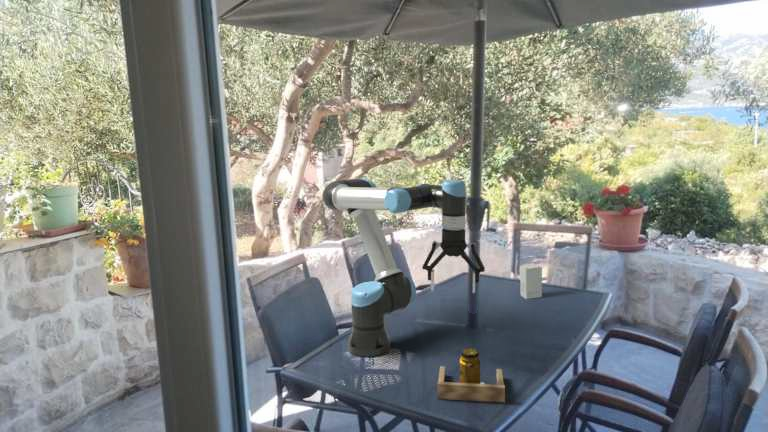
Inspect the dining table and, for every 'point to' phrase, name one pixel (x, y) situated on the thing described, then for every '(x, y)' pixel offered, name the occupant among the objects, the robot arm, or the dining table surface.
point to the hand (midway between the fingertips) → (453, 290)
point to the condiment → (470, 367)
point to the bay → (471, 389)
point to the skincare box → (531, 281)
